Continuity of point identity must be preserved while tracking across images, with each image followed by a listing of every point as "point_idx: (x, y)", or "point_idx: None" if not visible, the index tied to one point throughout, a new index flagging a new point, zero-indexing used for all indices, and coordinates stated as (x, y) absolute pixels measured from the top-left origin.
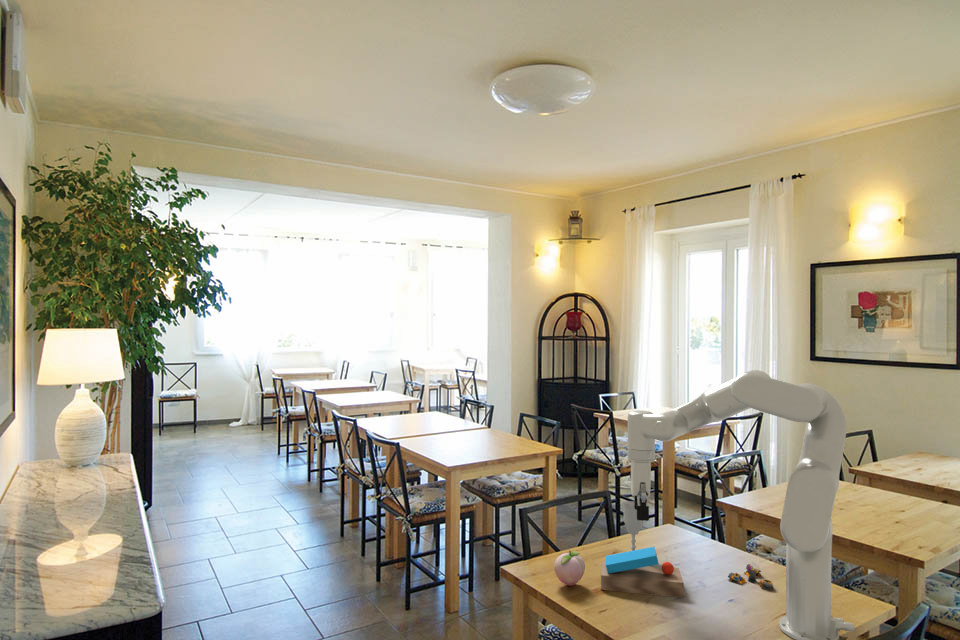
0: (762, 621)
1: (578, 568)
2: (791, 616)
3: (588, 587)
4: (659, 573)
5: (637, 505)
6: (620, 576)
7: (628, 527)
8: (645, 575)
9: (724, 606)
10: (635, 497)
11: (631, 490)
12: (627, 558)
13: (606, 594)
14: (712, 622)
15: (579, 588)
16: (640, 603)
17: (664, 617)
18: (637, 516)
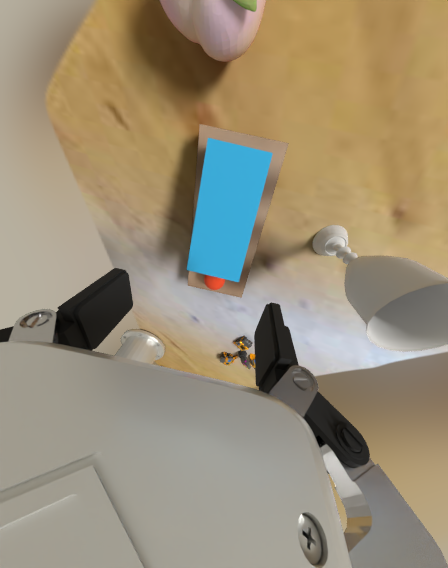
0: (154, 323)
1: (165, 3)
2: (126, 345)
3: (216, 94)
4: None
5: (63, 311)
6: (198, 179)
7: (364, 259)
8: None
9: (178, 307)
10: (273, 351)
11: (68, 389)
12: (213, 207)
13: (187, 141)
14: (137, 281)
15: (209, 60)
16: (164, 205)
17: (130, 230)
18: (105, 276)
